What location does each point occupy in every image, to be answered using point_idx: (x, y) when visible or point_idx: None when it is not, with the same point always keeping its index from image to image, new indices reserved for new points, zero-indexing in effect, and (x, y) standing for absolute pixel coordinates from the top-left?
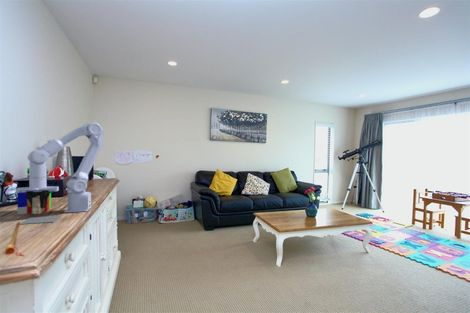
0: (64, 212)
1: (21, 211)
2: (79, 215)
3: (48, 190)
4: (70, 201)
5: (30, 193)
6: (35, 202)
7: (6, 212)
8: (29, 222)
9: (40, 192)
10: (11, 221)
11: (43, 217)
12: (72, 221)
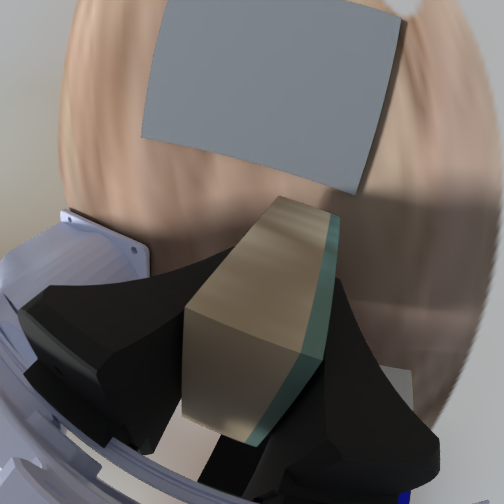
0: (146, 246)
1: (394, 382)
2: (73, 130)
3: (31, 388)
4: (69, 282)
5: (330, 484)
6: (283, 276)
7: (430, 420)
8: (331, 16)
9: (242, 489)
10: (470, 183)
11: (249, 145)
12: (94, 7)
